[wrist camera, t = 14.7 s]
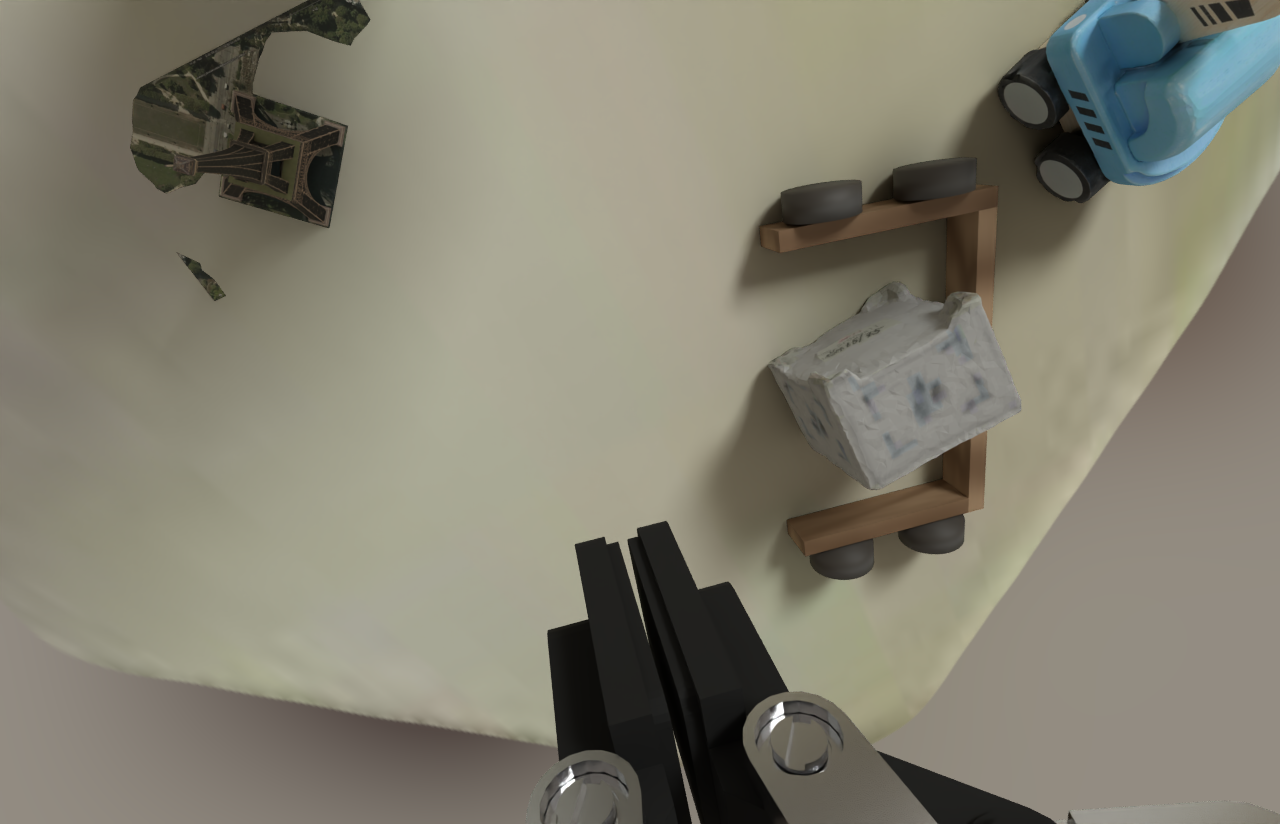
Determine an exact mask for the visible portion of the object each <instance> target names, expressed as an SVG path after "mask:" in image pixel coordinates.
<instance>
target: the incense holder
mask: <svg viewBox="0 0 1280 824" xmlns="http://www.w3.org/2000/svg"><path fill="white" fill-rule="evenodd" d="M768 367H769V368H770V370H771V371H772V374H773V375H774V378H775V380H776V382H777V384H778V385H779V387H780V389H781V391H782V392H783V394H784V396H785V398H786V401H787V402H788V404H789V406H790V408H791V410H792V412H793V414H794V417H795V419H796V421H797V423H798V425H799V427H800V429H801V431H802V433H803V435H804V436H805V438H806V440H807V442H808V444H809V445H810V446H811V447H812V449H814V450H815V451H816V452H818V453H819V454H821V455H824V456H826V457H827V459H828V460H829V461H831V462H832V463H833V464H835V465H836V466H838V467H839V468H841V469H842V470H843V471H845V473H846V474H848V475H849V476H851V477H852V478H854V479H855V480H856V481H858V482H859V483H861V484H862V485H863V486H864V487H866V488H867V489H871V490H878V489H881V488H884V487H885V486H887V485H889V484H891V483H892V482H894V481H895V480H897V479H899V478H901V477H903V476H905V475H907V474H908V473H910V472H912V471H913V470H915V469H917V468H918V467H920V466H921V465H923V464H924V463H926V462H928V461H930V460H932V459H934V458H936V457H938V456H939V455H941V454H943V453H944V452H946V451H948V450H949V449H951V448H953V447H955V446H957V445H959V444H960V443H962V442H965V441H967V440H969V439H971V438H973V437H975V436H977V435H979V434H981V433H983V432H985V431H987V430H988V429H990V428H992V427H994V426H995V425H997V424H998V423H1000V422H1002V421H1004V420H1006V419H1008V418H1009V417H1011V416H1013V415H1015V414H1017V413H1019V412H1020V411H1021V399H1020V396H1019V394H1018V392H1017V390H1016V387H1015V385H1014V382H1013V379H1012V376H1011V374H1010V372H1009V370H1008V367H1007V364H1006V360H1005V358H1004V356H1003V354H1002V351H1001V348H1000V346H999V344H998V342H997V340H996V338H995V335H994V331H993V329H992V327H991V325H990V323H989V320H988V318H987V315H986V313H985V311H984V309H983V306H982V301H981V297H980V296H979V295H978V294H977V293H971V292H954V293H951V294H950V295H949V296H948V297H947V299H946V301H945V303H944V304H943V303H940V302H937V301H936V302H931V301H928V300H925V301H924V300H922V299H921V298H919V297H915V296H913V295H912V294H910V292H909V290H908V289H907V287H906V286H905V285H903V284H902V283H901V282H892V283H890V284H888V285H886V286H885V287H884V288H882V289H881V290H879V291H878V292H877V293H875V294H873V295H872V296H870V297H869V298H868V300H867V301H866V303H865V305H864V306H863V307H862V309H861V312H860V313H859V314H856V315H855V316H853V317H851V318H849V319H848V320H846V321H844V322H843V323H840V324H839V325H837V326H836V327H834V328H832V329H831V330H829V331H828V332H826V333H825V334H823V335H822V336H821V337H819V338H818V339H817V340H816V342H814V343H812V344H811V345H809V346H804V347H803V348H792V349H790V350H788V351H786V352H785V353H784V354H782V355H781V356H780V357H778V358H776V359H774V360H772V361H771V362H770V363H769V364H768Z"/></svg>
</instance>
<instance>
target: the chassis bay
mask: <svg viewBox="0 0 1280 824" xmlns="http://www.w3.org/2000/svg"><path fill="white" fill-rule="evenodd" d="M976 166H977V159H976V158H969V157H968V158H950V159H941V160H933V161H926V162H920V163H915V164H910V165H905V166H901V167H898V168H895V169H893V199H889V200H884V201H879V202H874V203H869V204H864V205H862V182H861V181H860V180H840V181H830V182H823V183H816V184H810V185H805V186H800V187H796V188H792V189H788V190H785V191H783V192H781V202H782V215H783V221H782V222H777V223H772V224H767V225H762V226H759V228H760V239H761V246H762V247H765V248H768V249H771V250H773V251H776V252H779V253H782V252H787V251H792V250H797V249H801V248H806V247H811V246H815V245H820V244H825V243H830V242H834V241H839V240H844V239H849V238H853V237H858V236H863V235H867V234H872V233H877V232H882V231H886V230H891V229H896V228H900V227H905V226H910V225H915V224H919V223H924V222H929V221H933V220H938V219H943V218H947V251H946V299H947V297H948V296H949V295H950V294H951V293H954V292H971V293H977V294H978V295H979V296H980V297H981V301H982V306H983V309H984V311H985V313H986V315H987V318H988V320H989V323H990V325H991V327H992V314H993V292H994V270H995V249H996V227H997V205H998V186H994V185H978V184H976ZM986 444H987V431H985V432H983V433H981V434H979V435H977V436H975V437H973V438H971V439H969V440H967V441H965V442H962V443H960V444H959V445H957V446H955V447H953V448H951V449H949V450H948V451H946V452H944V453H943V479H940V480H936V481H933V482H929V483H925V484H921V485H917V486H914V487H910V488H906V489H902V490H898V491H894V492H891V493H887V494H883V495H879V496H875V497H872V498H868V499H864V500H860V501H856V502H852V503H849V504H845V505H841V506H837V507H833V508H830V509H826V510H822V511H818V512H814V513H810V514H807V515H803V516H799V517H795V518H791V519H788V520H787V527H788V534H789V535H790V537H791V538H792V539H793V541H794V542H795V543H796V545H797V546H798V547H799V549H800V550H801V551H802V552H803V554H804V555H805V556H809V555H810V563H811V566H812V567H813V569H814V570H815V571H817V572H818V573H819V574H821V575H823V576H825V577H828V578H832V579H838V580H849V579H855V578H859V577H861V576H864V575H865V574H867V573H868V572H869V571H870V570H871V569H872V567H873V565H874V547H873V539H872V538H875V537H879V536H883V535H886V534H890V533H894V532H898V536H899V539H900V540H901V542H902V543H903V544H904V545H906V546H907V547H909V548H911V549H913V550H915V551H918V552H922V553H927V554H945V553H949V552H952V551H955V550H957V549H958V548H960V547H961V546H962V544H963V542H964V529H965V518H964V516H963V514H964V513H968V512H972V511H975V510H979V509H983V508H984V488H985V466H986Z"/></svg>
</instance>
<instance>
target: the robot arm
mask: <svg viewBox="0 0 1280 824" xmlns="http://www.w3.org/2000/svg"><path fill="white" fill-rule="evenodd" d="M637 534H638V537H634V538H631V539H628V546H629V551H630V555H631V560H632V565H633V570H634V574H635V579H636V584H637V589H638V593H639V598H640V603H641V608H642V612H643V617H644V622H645V627H646V631H647V636H648V639H647V636H646V633H645V629H644V626H643V623H642V619H641V616H640V613H639V609H638V606H637V603H636V599H635V596H634V593H633V589H632V586H631V583H630V579H629V576H628V573H627V569H626V566H625V563H624V559H623V556H622V553H621V549H620V546H619V543H618V542H615V543H611V544H606V541H605V537H601V538H598V539H594V540H590V541H586V542H582V543H578V544H575V549H576V554H577V560H578V565H579V570H580V576H581V581H582V586H583V592H584V597H585V602H586V608H587V613H588V620H584V621H580V622H577V623H573V624H569V625H566V626H562V627H558V628H554V629H551V630H548V633H547V635H548V648H549V658H550V669H551V680H552V690H553V701H554V712H555V722H556V733H557V743H558V754H559V762H558V763H556V764H554V765H553V766H552V767H551V768H550V769H549V770H548V771H547V772H546V773H545V774H544V775H543V776H542V777H541V779H540V780H539V782H538V784H537V785H536V787H535V789H534V790H533V792H532V795H531V798H530V802H529V806H528V809H527V818H526V824H692V822H691V817H690V812H689V807H688V802H687V797H686V792H685V788H684V783H683V778H682V773H681V768H680V763H679V758H678V754H677V749H676V744H675V739H676V742H677V746H678V749H679V752H680V756H681V759H682V762H683V766H684V769H685V773H686V776H687V779H688V782H689V786H690V789H691V793H692V796H693V800H694V803H695V806H696V810H697V813H698V816H699V820H700V823H701V824H1280V814H1278V813H1276V812H1273V811H1270V810H1268V809H1265V808H1262V807H1259V806H1256V805H1253V804H1250V803H1244V802H1233V801H1212V802H1211V801H1210V802H1195V803H1179V804H1164V805H1149V806H1132V807H1118V808H1101V809H1087V810H1070V811H1069V813H1068V820H1056V821H1053V820H1051V819H1050V818H1048V817H1046V816H1044V815H1042V814H1040V813H1038V812H1036V811H1034V810H1032V809H1030V808H1028V807H1025V806H1022V805H1020V804H1017V803H1015V802H1012V801H1009V800H1007V799H1004V798H1001V797H998V796H996V795H993V794H990V793H988V792H985V791H983V790H980V789H977V788H974V787H972V786H969V785H967V784H964V783H961V782H958V781H956V780H954V779H951V778H948V777H946V776H942V775H940V774H937V773H935V772H932V771H930V770H927V769H924V768H922V767H919V766H916V765H914V764H911V763H908V762H906V761H903V760H900V759H898V758H895V757H892V756H890V755H887V754H884V753H882V752H879V751H876V750H875V748H874V747H873V746H872V745H871V744H870V742H869V741H868V740H867V739H866V738H865V736H864V735H863V734H862V733H861V732H860V730H859V729H858V728H857V727H856V726H855V725H854V723H853V722H852V721H851V720H850V719H849V717H848V716H847V715H846V714H845V713H844V712H843V711H842V710H841V709H840V708H838V707H837V706H836V705H835V704H834V703H833V702H831V701H829V700H827V699H825V698H823V697H821V696H819V695H815V694H810V693H806V692H789V691H788V689H787V687H786V685H785V684H784V682H783V680H782V678H781V676H780V674H779V672H778V670H777V669H776V667H775V665H774V663H773V661H772V659H771V657H770V655H769V654H768V652H767V650H766V648H765V646H764V644H763V642H762V640H761V639H760V637H759V635H758V633H757V631H756V629H755V627H754V625H753V624H752V622H751V620H750V618H749V616H748V614H747V612H746V611H745V609H744V607H743V605H742V603H741V601H740V599H739V597H738V596H737V594H736V592H735V590H734V588H733V587H732V585H731V584H730V583H729V582H725V583H721V584H717V585H713V586H710V587H706V588H702V589H699V590H698V589H697V587H696V584H695V582H694V580H693V578H692V575H691V573H690V571H689V569H688V567H687V564H686V562H685V560H684V558H683V555H682V553H681V551H680V549H679V547H678V544H677V542H676V540H675V538H674V535H673V533H672V531H671V529H670V527H669V524H668V523H667V521H664V522H660V523H656V524H652V525H648V526H644V527H640V528H637ZM648 641H649V643H648ZM673 732H674V734H673ZM674 736H675V739H674Z"/></svg>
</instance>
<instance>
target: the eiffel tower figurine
mask: <svg viewBox="0 0 1280 824" xmlns="http://www.w3.org/2000/svg"><path fill="white" fill-rule="evenodd" d="M369 21H370V18H369V17H368V15H367V13H366V12H365V10H364V8H363V6H362V5H361V3H360V1H359V0H308V1H306V2H304V3H302V4H300V5H298V6H296V7H294V8H292V9H290V10H289V11H287V12H285V13H283V14H281V15H279V16H277V17H275V18H273V19H271V20H269V21H267V22H265V23H264V24H262V25H260V26H258V27H256V28H254V29H252V30H250V31H248V32H246V33H245V34H243V35H241V36H239V37H237V38H235V39H233V40H231V41H229V42H227V43H225V44H224V45H222V46H220V47H218V48H216V49H214V50H212V51H210V52H208V53H206V54H204V55H202V56H201V57H199V58H197V59H195V60H193V61H191V62H189V63H187V64H185V65H183V66H181V67H179V68H177V69H175V70H174V71H172V72H170V73H168V74H166V75H164V76H162V77H160V78H158V79H156V80H154V81H152V82H150V83H148V84H146V85H145V86H143V87H141V88H140V89H139V92H138V94H137V96H136V97H135V98H134V100H133V111H132V123H133V134H132V140H131V146H130V148H131V151H132V154H133V157H134V160H135V163H136V166H137V168H138V170H139V171H140V172H141V173H142V174H143V175H144V176H146V177H147V178H148V179H149V180H150V181H151V182H152V183H153V184H154V185H155V187H156V188H157V189H159V190H161V191H163V192H164V193H166V194H168V193H170V192H172V191H174V190H176V189H178V188H181V187H185V186H189V185H193V184H196V182H197V181H198V180H199V179H200V178H201V176H202V175H203V174H204V173H214V174H222V175H221V183H220V192H219V197H222V198H226V199H229V200H233V201H236V202H240V203H243V204H247V205H250V206H254V207H257V208H261V209H264V210H267V211H271V212H274V213H278V214H281V215H285V216H288V217H292V218H295V219H299V220H302V221H306V222H309V223H313V224H316V225H320V226H323V227H327V228H329V227H330V222H331V216H332V210H333V205H334V199H335V194H336V188H337V183H338V177H339V172H340V166H341V161H342V155H343V150H344V144H345V139H346V133H347V128H348V126H346V125H343V124H340V123H337V122H335V121H332V120H329V119H326V118H323V117H320V116H317V115H314V114H311V113H308V112H305V111H302V110H299V109H296V108H293V107H290V106H287V105H284V104H281V103H278V102H275V101H272V100H269V99H266V98H263V97H260V96H257V95H254V94H253V81H254V76H255V73H256V69H257V65H258V60H259V57H260V55H261V53H262V51H263V48H264V45H265V42H266V40H267V39H268V37H269V36H270V34H271V33H272V32H288V31H308V32H311V33H314V34H316V35H319V36H322V37H324V38H327V39H330V40H332V41H335V42H339V43H342V44H346V45H350V46H351V44H352V42H353V40H354V38H355V37H356V36H357V35H358V34H359V33H360V32H361V31H362V30H363V29H364V27H365V26H366V25H367V24H368V23H369ZM176 253H177V252H176ZM177 254H178V255H179V256H180V258H181V259H182V260H183V261H184V263H185V264H186V265H187V266H188V268H189V269H190V270H191V271H192V273H193V274H194V275H195V277H196V278H197V279H198V280H199V282H200V283H201V284H202V285H203V287H204V288H205V289H206V290H207V292H208V293H209V294H210V296H211V297H212V298H213V299H214V301H216V300H218V299H220V298H222V297H224V296H226V295H225V294H224V292H223V291H222V290H221V288H220V287H219V286H218V284H217V283H216V281H215V280H214V279H213V278H212V277H210V276H209V275H208V274H206V273H205V272H204V271H202V269H201V265H200V263H198V262H196V261H194V260H192V259H190V258H188V257H186V256H183V255H181V254H179V253H177Z"/></svg>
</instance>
